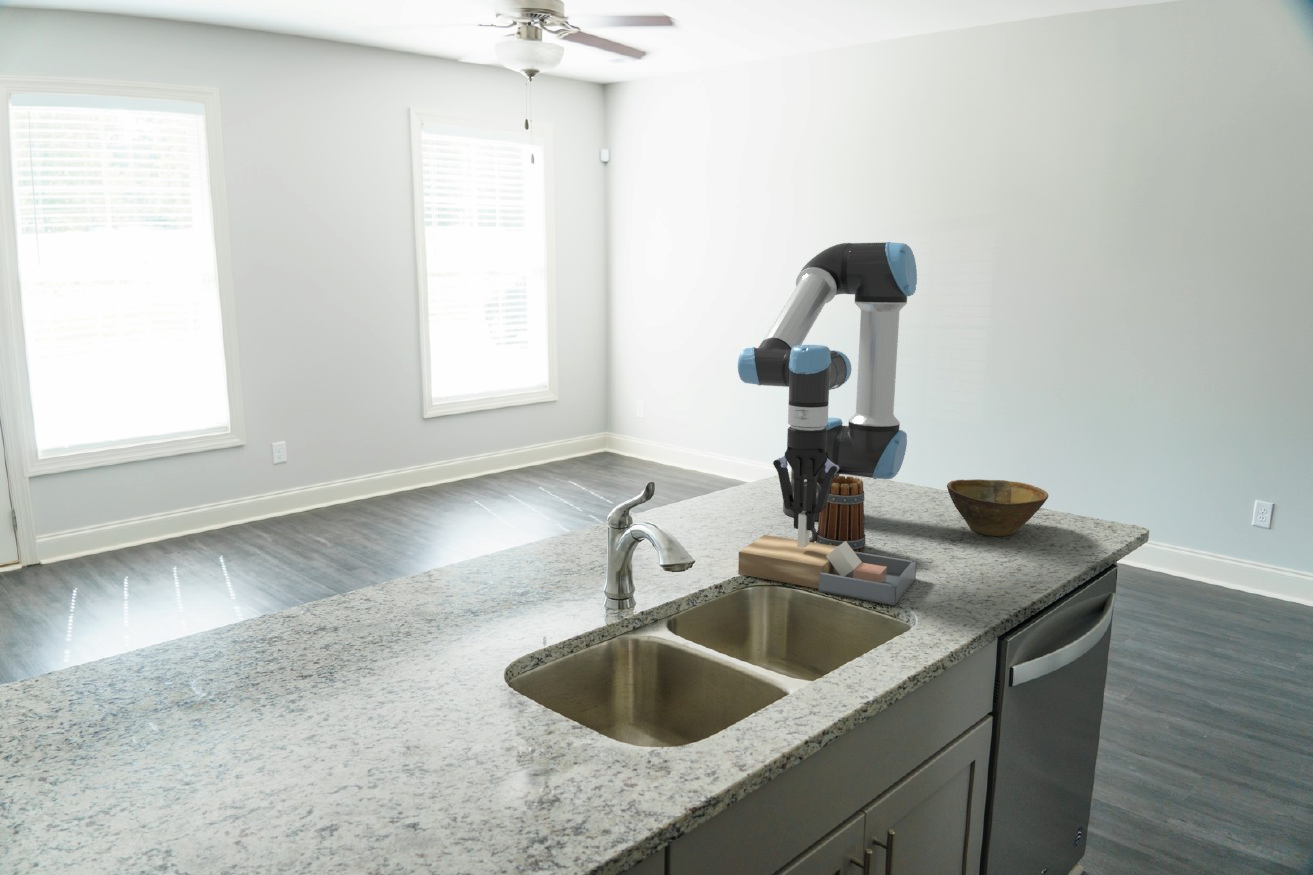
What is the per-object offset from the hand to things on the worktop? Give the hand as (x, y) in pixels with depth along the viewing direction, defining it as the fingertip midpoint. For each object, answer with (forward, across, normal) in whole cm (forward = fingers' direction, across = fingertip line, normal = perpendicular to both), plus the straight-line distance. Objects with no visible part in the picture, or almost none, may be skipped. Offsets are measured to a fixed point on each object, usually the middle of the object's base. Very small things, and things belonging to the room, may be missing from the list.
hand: (803, 545), depth 173 cm
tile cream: (+2, +7, 0) cm, 8 cm away
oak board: (+6, -2, 0) cm, 6 cm away
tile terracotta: (+2, +13, -1) cm, 14 cm away
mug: (+6, 0, +18) cm, 19 cm away
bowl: (+6, +29, +49) cm, 57 cm away
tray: (+6, +13, 0) cm, 14 cm away
